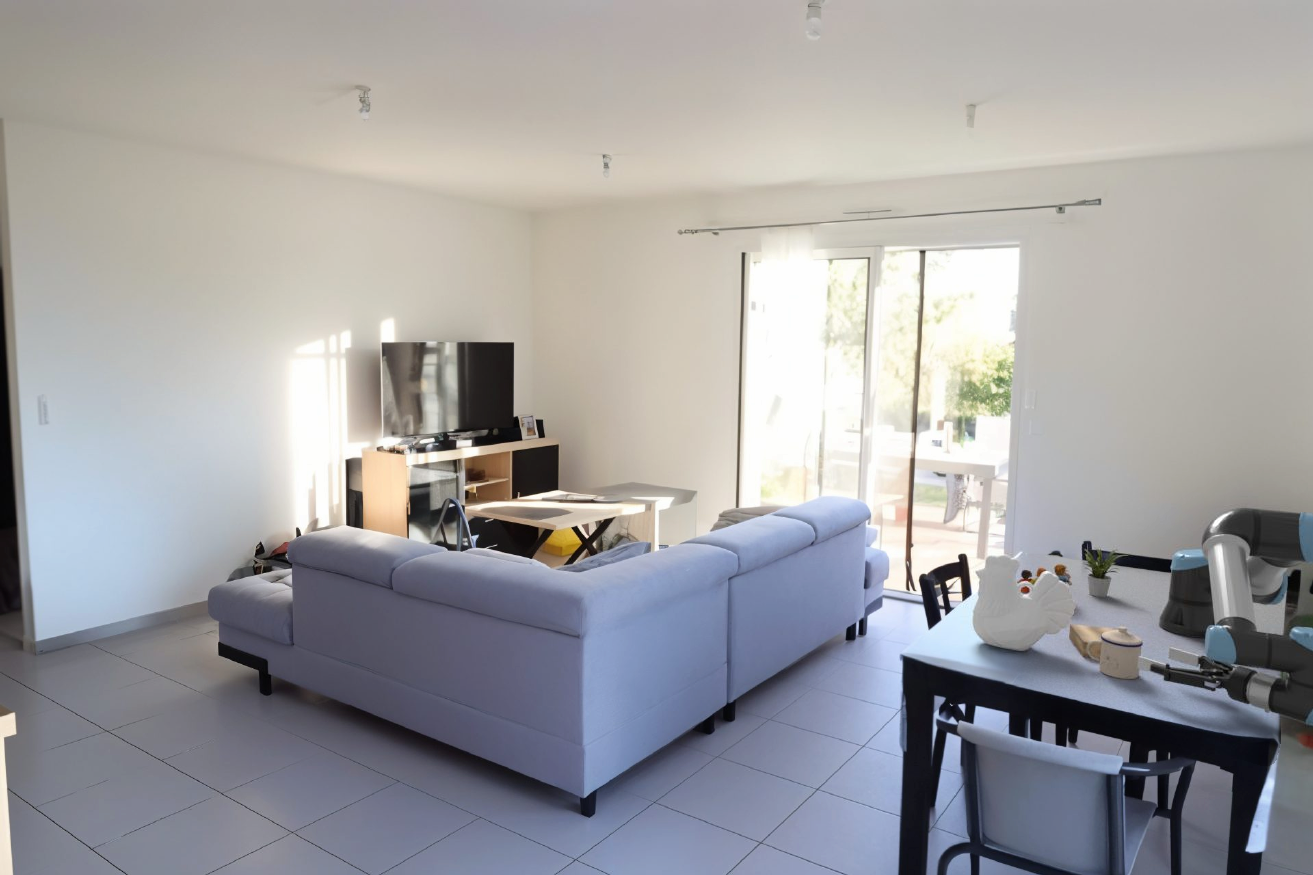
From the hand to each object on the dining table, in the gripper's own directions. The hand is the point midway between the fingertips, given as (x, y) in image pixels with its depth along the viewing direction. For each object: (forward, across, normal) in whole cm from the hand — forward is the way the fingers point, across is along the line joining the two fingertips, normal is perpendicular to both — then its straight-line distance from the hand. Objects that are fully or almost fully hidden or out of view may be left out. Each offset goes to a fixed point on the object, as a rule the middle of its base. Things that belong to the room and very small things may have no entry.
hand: (1154, 656), depth 204 cm
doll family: (+52, +38, -7) cm, 65 cm away
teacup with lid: (+10, 0, -7) cm, 12 cm away
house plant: (+52, +66, -7) cm, 84 cm away
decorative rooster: (+31, -6, -7) cm, 33 cm away
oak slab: (+20, +14, -7) cm, 25 cm away
